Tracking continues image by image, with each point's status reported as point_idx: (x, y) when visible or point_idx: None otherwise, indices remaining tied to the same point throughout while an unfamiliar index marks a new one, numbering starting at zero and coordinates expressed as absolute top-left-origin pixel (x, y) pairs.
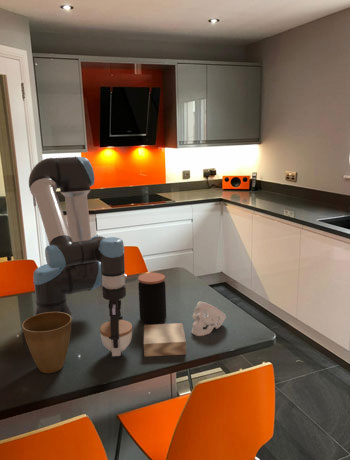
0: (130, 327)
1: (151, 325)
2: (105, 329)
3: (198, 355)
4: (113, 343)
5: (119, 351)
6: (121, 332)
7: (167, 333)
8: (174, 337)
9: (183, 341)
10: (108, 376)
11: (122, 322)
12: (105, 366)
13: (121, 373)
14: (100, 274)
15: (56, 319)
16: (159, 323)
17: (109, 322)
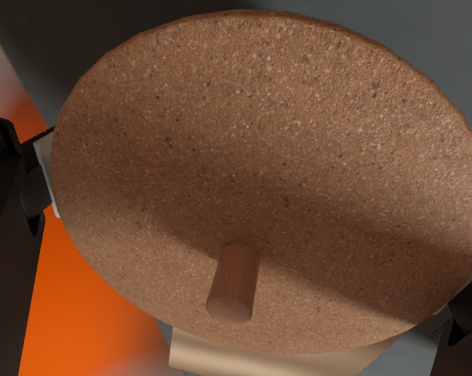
0: (187, 331)
1: (373, 349)
2: (182, 119)
3: (171, 333)
4: (36, 137)
5: None
6: (95, 260)
7: (252, 357)
8: (209, 358)
9: (171, 363)
10: (29, 21)
11: (312, 324)
12: (134, 14)
13: (65, 99)
14: None
15: None
16: None
17: (413, 221)
